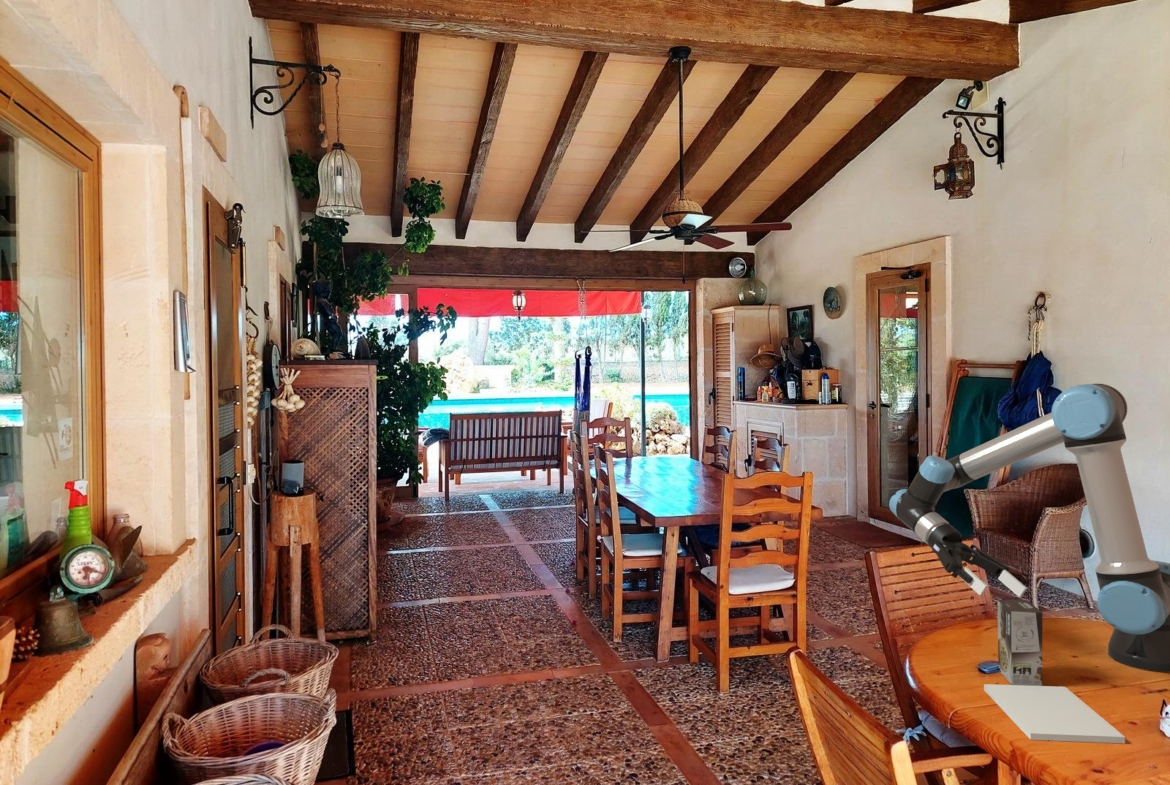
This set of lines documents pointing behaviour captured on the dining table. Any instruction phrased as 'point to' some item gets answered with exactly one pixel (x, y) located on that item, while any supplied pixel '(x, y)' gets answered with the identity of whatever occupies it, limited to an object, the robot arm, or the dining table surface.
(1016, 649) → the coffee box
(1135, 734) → the dining table surface
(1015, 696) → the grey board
